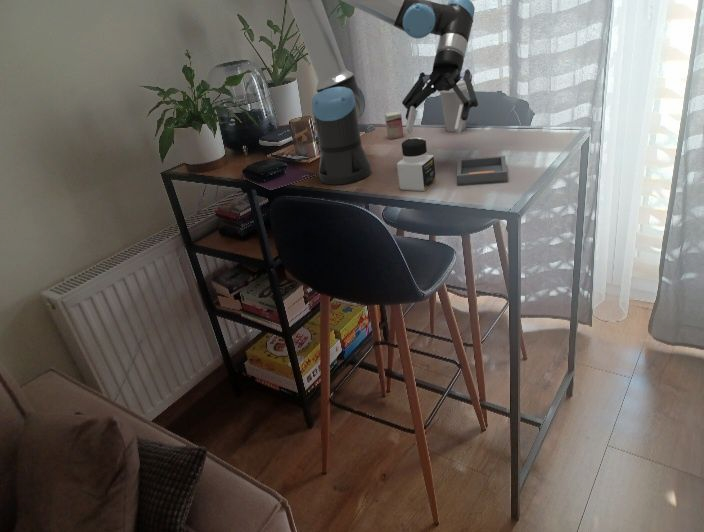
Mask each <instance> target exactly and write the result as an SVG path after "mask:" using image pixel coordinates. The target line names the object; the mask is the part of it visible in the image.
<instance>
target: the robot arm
mask: <svg viewBox="0 0 704 532" xmlns="http://www.w3.org/2000/svg"><path fill="white" fill-rule="evenodd" d="M322 1H323V0H287V3H288V6H289V8H290V10H291V12H292V13H291V14H292V15H293V17H294V20H295V23H296V26H297V28H298V30H299V34H300V36H301V39H302V41H303V44H304V47H305V49H306V52H307V55H308V56H309V59H310V60H309V61H310V62H311V64H312V67H313V71H314V73H315V75H316V78H317V80H318V81H317V84H316V87H315V90H316V92H317V93H316V94H315V95H313V97H312V99H311V112H312V115H313V119H314V124H315V130H316V135H317V139H318V143H319V144H318V145H319V150H320V157H319V166H318V167H319V168H318V175H319V181H320V182H321V183H322V184H326V185H333V186H334V185H335V186H336V185H337V186H339V185H345V184H351V183H355V182H358V181H361V180H364V179H365V178H367V177H368V176H370V175H371V174H372V165H371V162H370V159H369V158H368V155H367V153H366V151H365V150H364V147H363V145H362V140H361V139H362V138H361V133H360V126H359V121H360V119H361V118H362V117H363V114H364V111H365V110H366V109H365V108H366V98H365V95H364V92H363V90H362V89H361V88H360V86H359V85H358V84H357V81H356V78H355V75H354V73H353V72H351V71H349V70H348V69H346V68H347V67H346V66H345V62H344V59H343V57H342V54H341V52H340V49H339V46H338V42H337V40H336V37H335V35H334V32H333V29H332V26H331V24H330V21H329V20H330V19H329V18H328V15H327V13H326V9H325V7H324V4H323V2H322ZM340 1H341V2H343V3H345V4H347V5H349V6H351V7H354V8H356V9H358V10H360V11H362V12H364V13H366V14H369V15H370V16H372V17H374V18H376V19H379V20H380V21H383V22H385V23H387V24H389V25H391V26H393V27H395V28H397V29H398V30H401V31H403V32H405V34H407V35H408V36H410V37H411V38H412V39H423V38H425V37H427V36H429V35H430V34H432V35H435V36H439V41H438V43H437V49H436V52H435V53H436V54H435V55H434V56H435V57H434V59H433V60H434V61H433V64H432V65H433V66H432V70H431V72H430V74H425V72H423V71H422V72H420V74H419V76H418V79H417V80H416V82H415V83H414V84H413V86H412V88H410V90H409V92H408V93H407V95H406V96H405V97H404V98H403V100H402V102H401V104H402V106H403V107H404V108H405V109H406V113H405V119H406V120H407V121H406V124H405V130H406V132H407V133H408V134H410V135H411V134H412V133H413V130H414V126H415V122H416V117H417V112H418V111H417V109H418V108H419V106H421V104H422V103H424V101H426V100H427V99H428V98H429V97H430V96H431V95H432V94H435V93H436V92H438V91H443V90H445V91H449V90H450V89H452V88H453V90H454V91H455V93H456V94H457V96H458V97H459V99H460V100H461V101H462V103H463V104H464V106H463V105H460V107H459V111H458V115H457V120H456V124H455V130H456V132H455V133H457V134H458V135H461V133H462V131H463V130H462V125H463V121H464V120H466V121H467V120H468V117H469V113H470V110H471V108H473V107H474V108H476V107H478V106H479V102H478V99H477V95H476V93H475V90H474V89H475V88H474V86H473V84H472V81H473V74H472V73H471V71H470V69H469V68H468V69H466V70H464V71H462V70H463V65H464V61H465V60H464V59H465V57H466V52H467V47H468V43H469V39H470V36H471V31H472V27H473V23H474V15H475V10H476V8H475V5H474V3H473V2H472V1H471V0H449V1H448V4H445V3H444V4H443V3H438V2H434V1H431V0H340ZM460 79H462V80H463V81H465V83H466V87H467V94H468V95H469V96H468V97H469V100H468V98H467V99H466V98H465V96H464V95H463V93H462V92H461V90H460V89H459V87H458V86H457V83H458V82H459V80H460ZM461 130H462V131H461Z"/></svg>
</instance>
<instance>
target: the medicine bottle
mask: <svg viewBox="0 0 704 532" xmlns="http://www.w3.org/2000/svg"><path fill="white" fill-rule="evenodd" d="M427 150H428V149H427V140H425V139H424V138H422V137H410V138H406V139H405V140H404V141H402V143H401V152H402V159H401V160H399V161H398V162H397V163H396V169H397V176H398V183H399V184H398V185H399V189H400V190H401V191H403V190H404V191H405V190H406V191H415V192H416V191H419V192H425V191H426V190H427V189H428V188H430V187H431V186H432V185H433V184H434V183H435V182H436V180H437V177H436V168H435V167H436V166H435V155H434V154H428V151H427Z"/></svg>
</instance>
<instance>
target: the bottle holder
mask: <svg viewBox="0 0 704 532" xmlns="http://www.w3.org/2000/svg"><path fill="white" fill-rule="evenodd" d="M456 167H457V168H456V186H465V185H481V184H493V183H495V184H496V183H505V182H506V183H507V182H508V169H507V161H506V155H497V156H484V157H475V158H474V157H473V158H462V159H461V158H460V159H457V166H456Z"/></svg>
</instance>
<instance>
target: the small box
mask: <svg viewBox="0 0 704 532" xmlns="http://www.w3.org/2000/svg"><path fill="white" fill-rule="evenodd" d="M384 118H385V119H384V120H385V128H386V136H387V138H388V139H389V140H393V139H398V138H404V136H405V135H404V129H403V127H404V126H403V120H402V113H401V112H400V110H398V111H391V112H388V113H387V112H386V113H384Z"/></svg>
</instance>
